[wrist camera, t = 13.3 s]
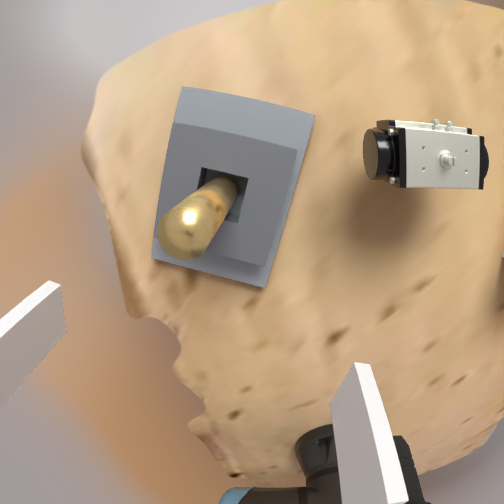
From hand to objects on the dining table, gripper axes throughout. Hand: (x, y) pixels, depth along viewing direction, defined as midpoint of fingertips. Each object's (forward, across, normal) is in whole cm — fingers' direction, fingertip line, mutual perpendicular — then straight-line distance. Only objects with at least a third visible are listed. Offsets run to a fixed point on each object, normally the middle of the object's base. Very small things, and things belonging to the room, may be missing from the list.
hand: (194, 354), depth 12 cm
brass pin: (+22, +3, -2) cm, 22 cm away
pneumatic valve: (+23, -14, -12) cm, 30 cm away
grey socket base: (+23, +3, -2) cm, 24 cm away
